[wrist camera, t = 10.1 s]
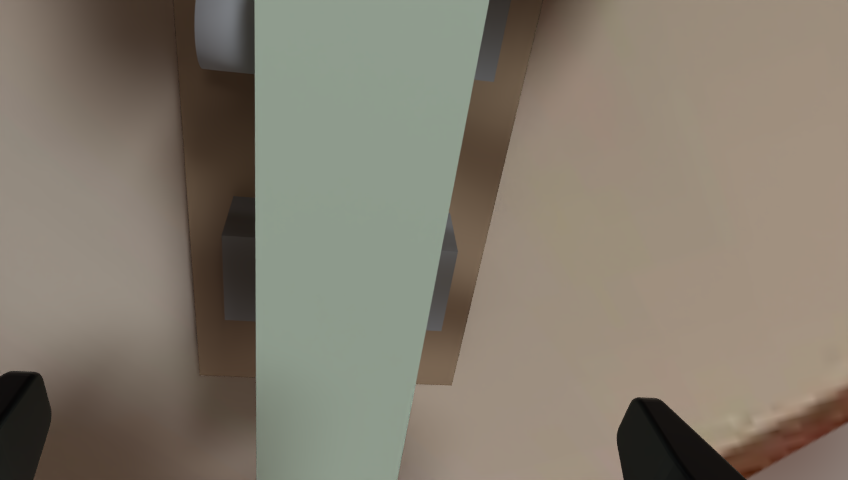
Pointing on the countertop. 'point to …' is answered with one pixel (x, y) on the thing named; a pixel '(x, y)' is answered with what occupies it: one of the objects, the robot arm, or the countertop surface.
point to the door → (345, 211)
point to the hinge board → (235, 193)
